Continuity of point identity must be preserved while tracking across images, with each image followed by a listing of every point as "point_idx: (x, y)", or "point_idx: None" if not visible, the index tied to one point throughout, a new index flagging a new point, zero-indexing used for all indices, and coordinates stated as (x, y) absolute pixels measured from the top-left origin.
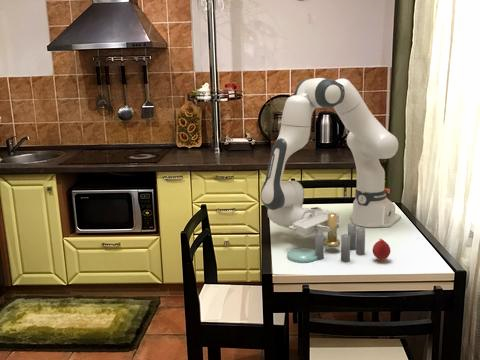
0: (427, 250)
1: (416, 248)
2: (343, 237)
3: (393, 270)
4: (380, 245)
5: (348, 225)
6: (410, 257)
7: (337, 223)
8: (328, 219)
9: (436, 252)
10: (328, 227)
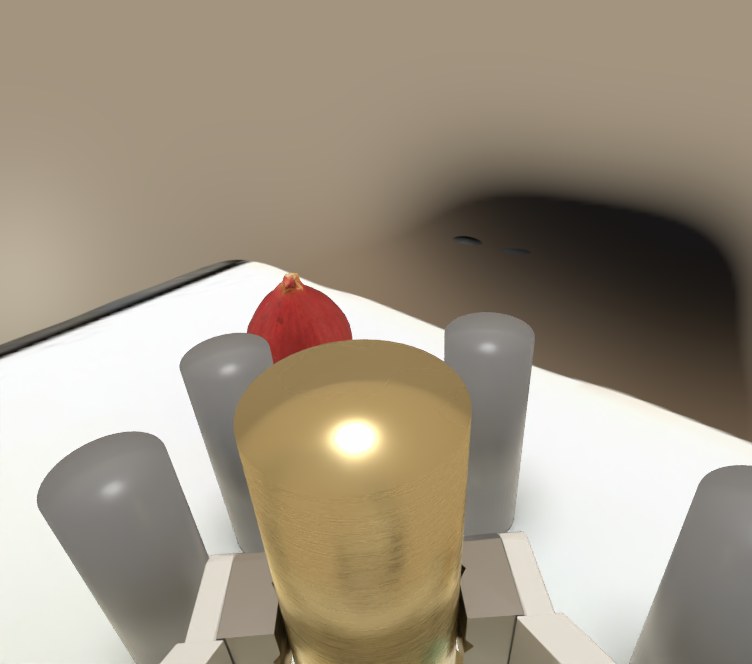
0: (45, 359)
1: (25, 391)
2: (530, 332)
3: (378, 327)
4: (326, 296)
5: (151, 487)
6: (181, 355)
7: (232, 564)
8: (465, 501)
9: (64, 335)
10: (522, 536)
